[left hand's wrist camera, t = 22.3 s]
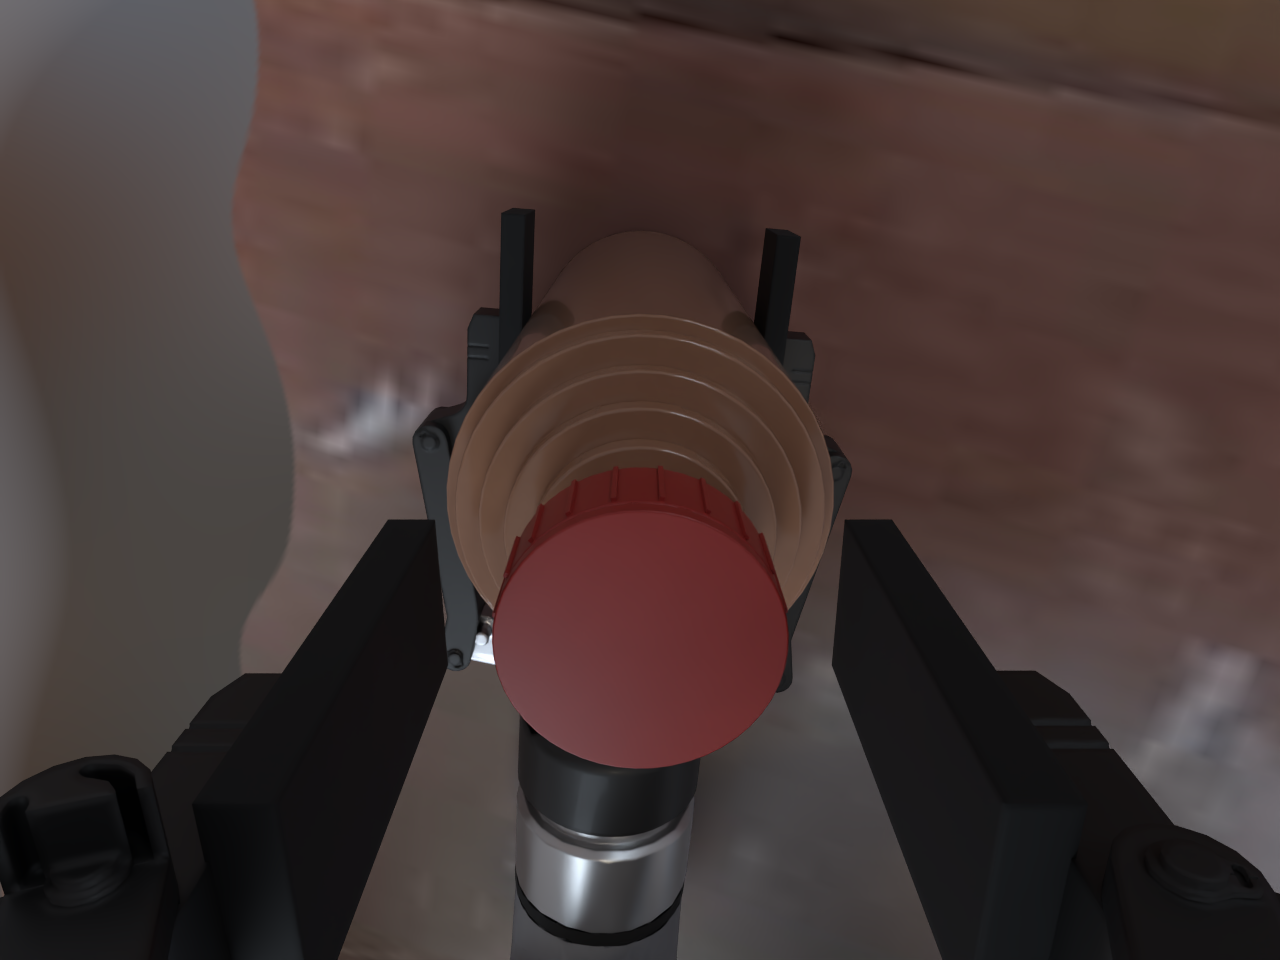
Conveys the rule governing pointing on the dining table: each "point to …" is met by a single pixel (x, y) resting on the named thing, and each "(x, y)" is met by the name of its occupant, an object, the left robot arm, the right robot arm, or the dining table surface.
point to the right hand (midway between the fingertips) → (651, 222)
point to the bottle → (640, 408)
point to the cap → (640, 620)
